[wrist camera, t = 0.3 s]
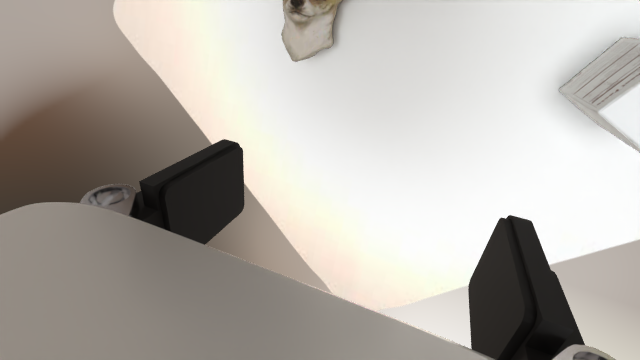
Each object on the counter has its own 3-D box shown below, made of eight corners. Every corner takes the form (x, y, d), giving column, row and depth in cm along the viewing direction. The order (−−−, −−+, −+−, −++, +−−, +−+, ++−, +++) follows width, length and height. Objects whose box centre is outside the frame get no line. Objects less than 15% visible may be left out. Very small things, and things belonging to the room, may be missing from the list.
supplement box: (673, 79, 33) (776, 104, 23) (600, 128, 37) (659, 169, 27) (622, 34, 33) (701, 38, 23) (555, 88, 37) (595, 113, 27)
